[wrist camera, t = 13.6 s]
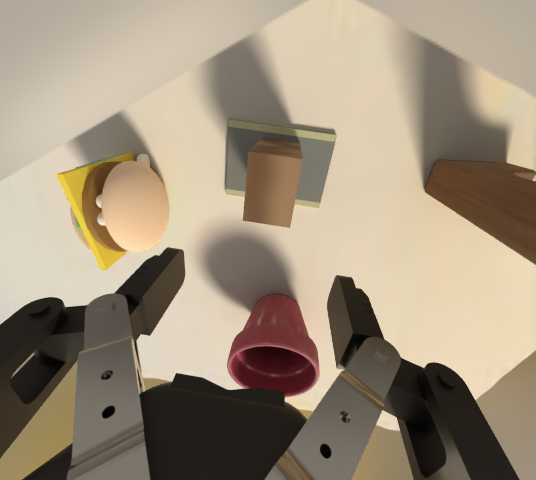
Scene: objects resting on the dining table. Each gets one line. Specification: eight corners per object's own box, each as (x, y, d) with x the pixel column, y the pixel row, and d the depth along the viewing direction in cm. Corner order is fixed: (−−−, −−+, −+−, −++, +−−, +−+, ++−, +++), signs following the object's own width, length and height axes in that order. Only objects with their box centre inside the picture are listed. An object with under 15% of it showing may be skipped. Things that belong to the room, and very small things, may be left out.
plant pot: (255, 338, 52) (245, 402, 41) (231, 291, 46) (211, 350, 35) (320, 329, 49) (328, 395, 37) (303, 276, 42) (307, 337, 31)
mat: (336, 134, 31) (336, 135, 30) (318, 206, 36) (318, 207, 35) (229, 119, 31) (228, 119, 30) (226, 192, 36) (225, 193, 35)
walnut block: (300, 142, 31) (303, 159, 21) (290, 193, 34) (289, 227, 25) (262, 137, 31) (248, 151, 21) (256, 188, 34) (243, 220, 25)
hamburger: (184, 227, 40) (146, 271, 29) (138, 227, 40) (84, 269, 30) (167, 152, 34) (111, 173, 23) (113, 154, 35) (36, 174, 24)
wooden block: (507, 162, 30) (735, 222, 15) (490, 196, 33) (671, 279, 17) (435, 158, 31) (579, 212, 15) (422, 192, 33) (537, 268, 18)
